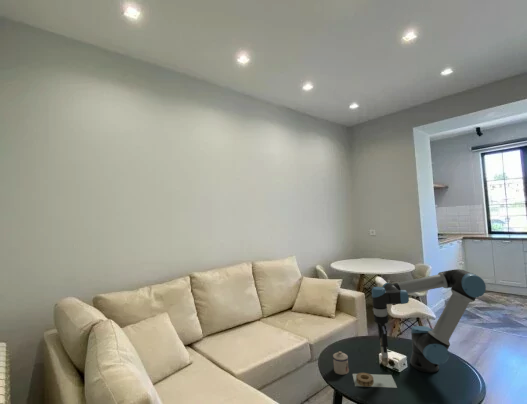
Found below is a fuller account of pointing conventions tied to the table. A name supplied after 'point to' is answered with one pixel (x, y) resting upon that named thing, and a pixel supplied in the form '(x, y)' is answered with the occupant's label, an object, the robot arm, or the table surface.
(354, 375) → the felt mat
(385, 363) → the birch dowel
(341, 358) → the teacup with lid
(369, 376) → the wooden ring
